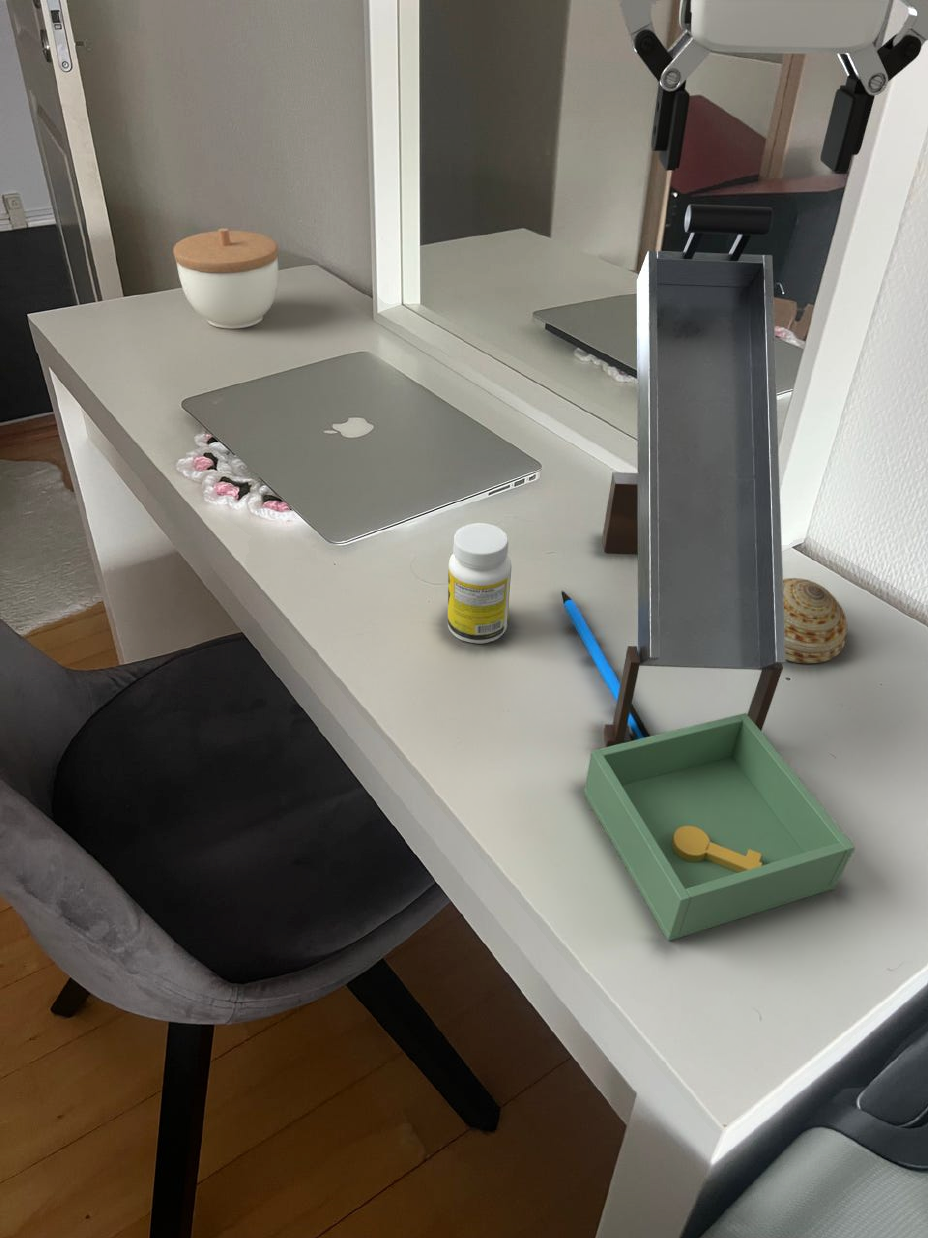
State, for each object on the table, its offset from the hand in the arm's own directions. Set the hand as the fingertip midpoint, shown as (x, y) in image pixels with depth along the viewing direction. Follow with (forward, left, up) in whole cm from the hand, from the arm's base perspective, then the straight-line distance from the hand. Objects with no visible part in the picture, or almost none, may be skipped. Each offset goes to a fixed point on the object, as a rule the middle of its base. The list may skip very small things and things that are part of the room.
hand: (750, 166), depth 53 cm
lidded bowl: (+24, -70, -33) cm, 81 cm away
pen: (+8, +6, -33) cm, 34 cm away
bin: (+8, +21, -33) cm, 40 cm away
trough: (+2, +4, -17) cm, 18 cm away
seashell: (-9, +5, -33) cm, 35 cm away
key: (+9, +23, -32) cm, 40 cm away
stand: (+1, +3, -33) cm, 33 cm away
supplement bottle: (+15, -2, -33) cm, 36 cm away
